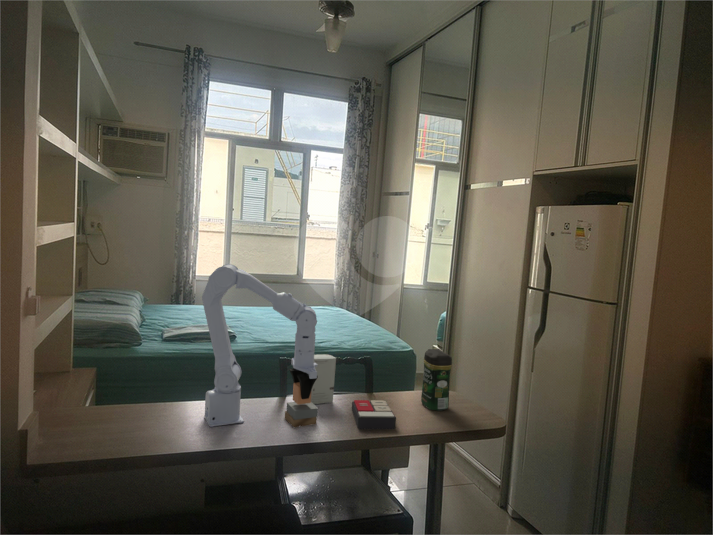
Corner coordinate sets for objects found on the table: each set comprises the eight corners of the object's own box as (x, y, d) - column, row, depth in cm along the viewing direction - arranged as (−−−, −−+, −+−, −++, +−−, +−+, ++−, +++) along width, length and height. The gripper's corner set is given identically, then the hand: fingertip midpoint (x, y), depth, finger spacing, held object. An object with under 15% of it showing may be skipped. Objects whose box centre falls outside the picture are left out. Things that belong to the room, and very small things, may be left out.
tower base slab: (293, 428, 133) (293, 420, 132) (284, 419, 139) (285, 411, 138) (316, 425, 136) (316, 416, 136) (306, 416, 142) (307, 408, 142)
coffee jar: (417, 401, 160) (421, 347, 158) (438, 400, 162) (443, 347, 160) (429, 412, 150) (433, 354, 149) (451, 411, 152) (456, 354, 151)
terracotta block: (297, 404, 134) (298, 387, 134) (292, 399, 138) (293, 382, 137) (310, 402, 136) (311, 385, 136) (305, 398, 140) (306, 381, 139)
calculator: (386, 399, 150) (396, 415, 135) (385, 412, 150) (395, 430, 136) (352, 398, 149) (358, 414, 134) (351, 412, 149) (357, 429, 134)
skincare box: (310, 405, 150) (312, 359, 149) (303, 399, 155) (305, 354, 154) (334, 402, 154) (336, 357, 153) (326, 396, 159) (329, 352, 158)
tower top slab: (294, 419, 133) (295, 411, 132) (286, 410, 139) (286, 402, 139) (317, 416, 136) (318, 408, 136) (308, 408, 142) (309, 399, 142)
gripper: (328, 355, 132) (325, 402, 133) (307, 342, 144) (305, 386, 145) (304, 356, 128) (301, 405, 129) (285, 344, 141) (283, 388, 142)
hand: (302, 395), depth 137 cm, fingers closed on terracotta block, 4 cm apart
